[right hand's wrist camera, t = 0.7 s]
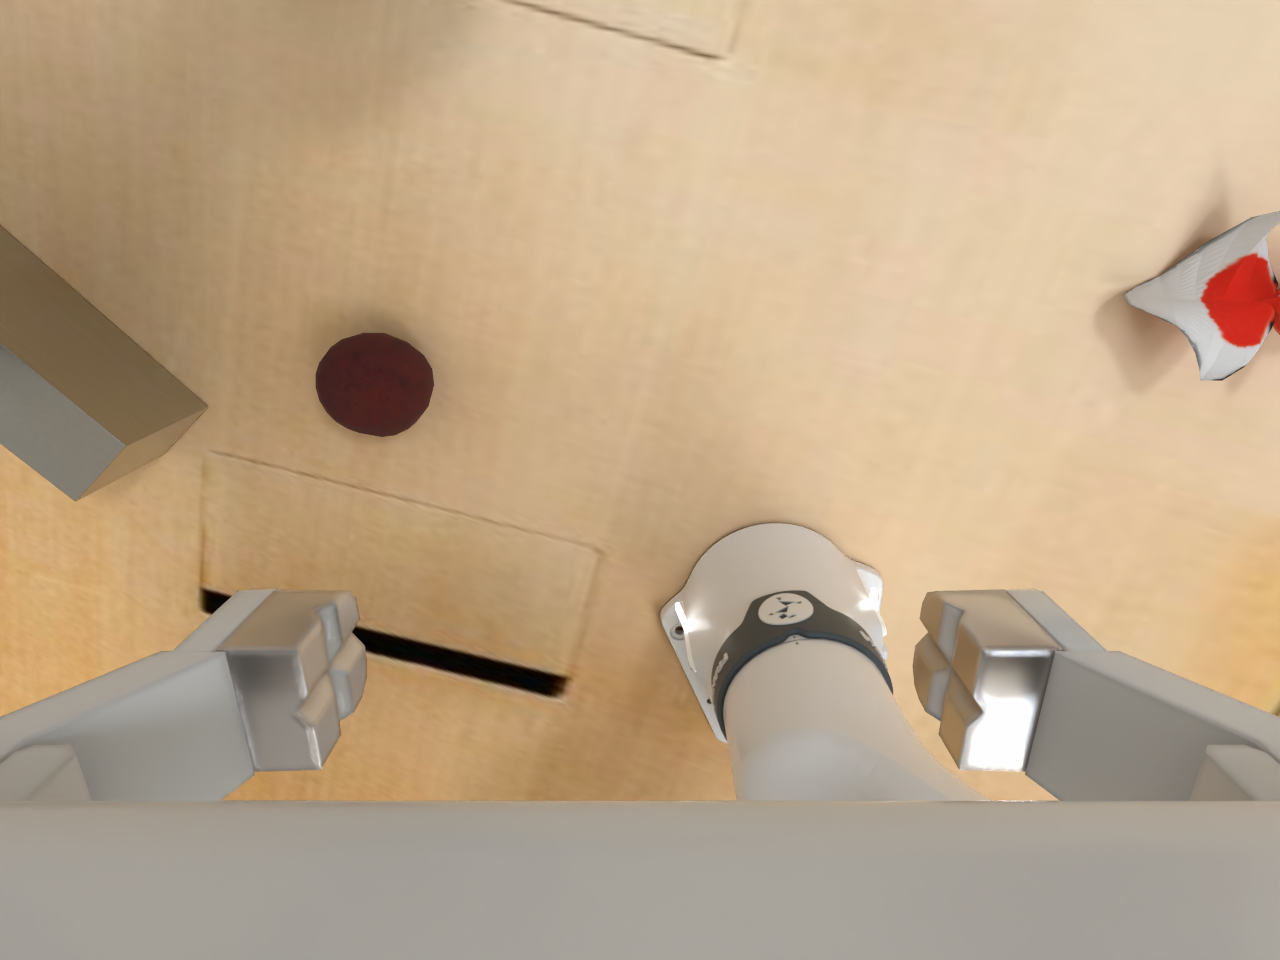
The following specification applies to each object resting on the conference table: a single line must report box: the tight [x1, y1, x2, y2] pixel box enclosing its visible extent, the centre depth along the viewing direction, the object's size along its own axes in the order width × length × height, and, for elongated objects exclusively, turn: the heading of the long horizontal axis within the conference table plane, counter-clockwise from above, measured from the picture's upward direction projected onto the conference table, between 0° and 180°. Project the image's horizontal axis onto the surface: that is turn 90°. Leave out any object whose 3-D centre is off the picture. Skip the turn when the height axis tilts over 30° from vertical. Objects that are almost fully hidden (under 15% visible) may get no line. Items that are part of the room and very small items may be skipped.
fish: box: [1124, 211, 1280, 380], centre depth 48 cm, size 11×16×10 cm
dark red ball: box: [316, 333, 434, 437], centre depth 50 cm, size 7×8×7 cm
